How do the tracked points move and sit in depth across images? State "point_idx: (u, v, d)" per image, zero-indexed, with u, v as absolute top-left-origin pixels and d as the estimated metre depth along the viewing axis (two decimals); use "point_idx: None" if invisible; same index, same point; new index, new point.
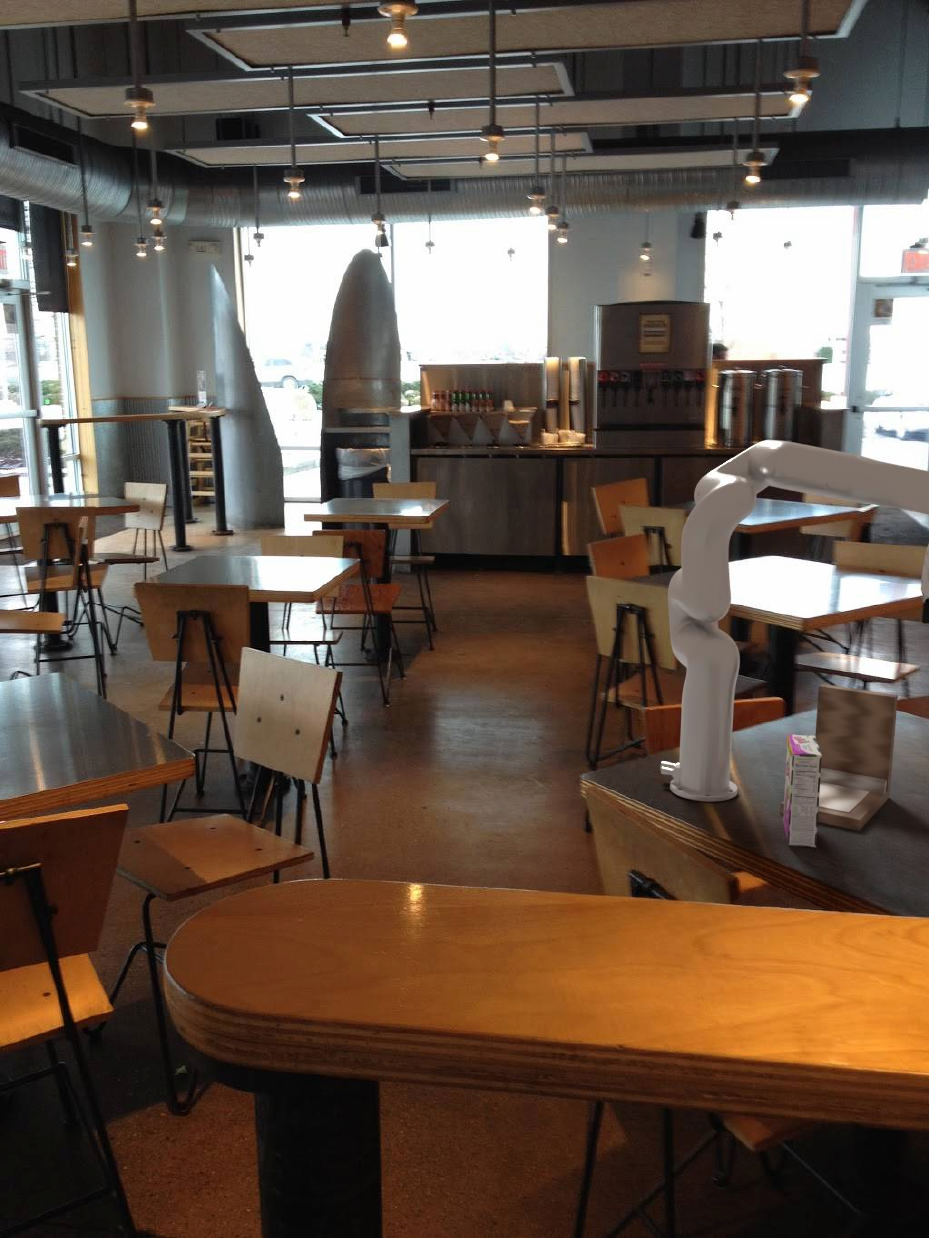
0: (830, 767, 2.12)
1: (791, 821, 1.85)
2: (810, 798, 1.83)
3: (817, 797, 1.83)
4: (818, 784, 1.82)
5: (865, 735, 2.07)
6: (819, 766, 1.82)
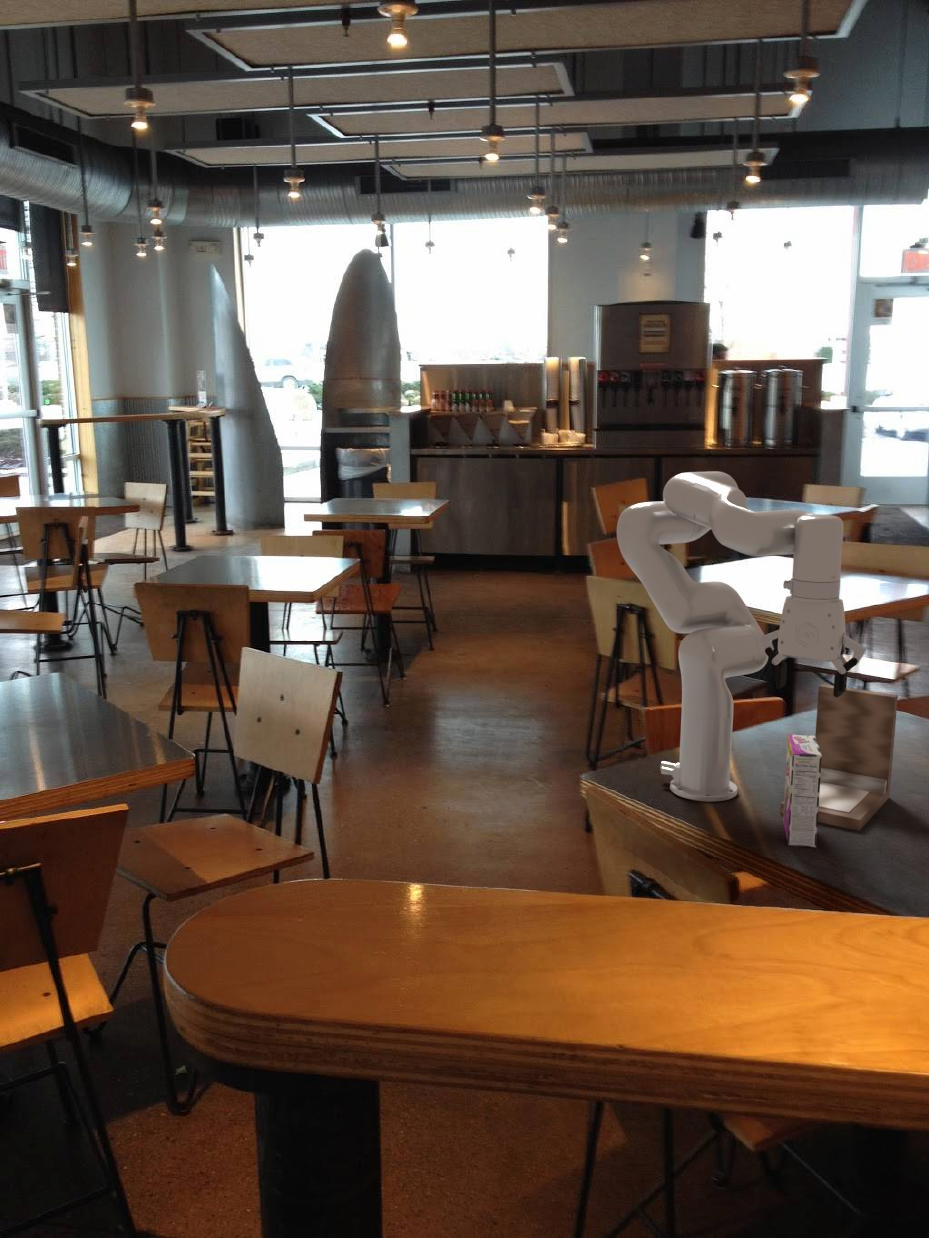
0: (830, 767, 2.12)
1: (791, 821, 1.85)
2: (810, 798, 1.83)
3: (817, 797, 1.83)
4: (818, 784, 1.82)
5: (865, 735, 2.07)
6: (819, 766, 1.82)
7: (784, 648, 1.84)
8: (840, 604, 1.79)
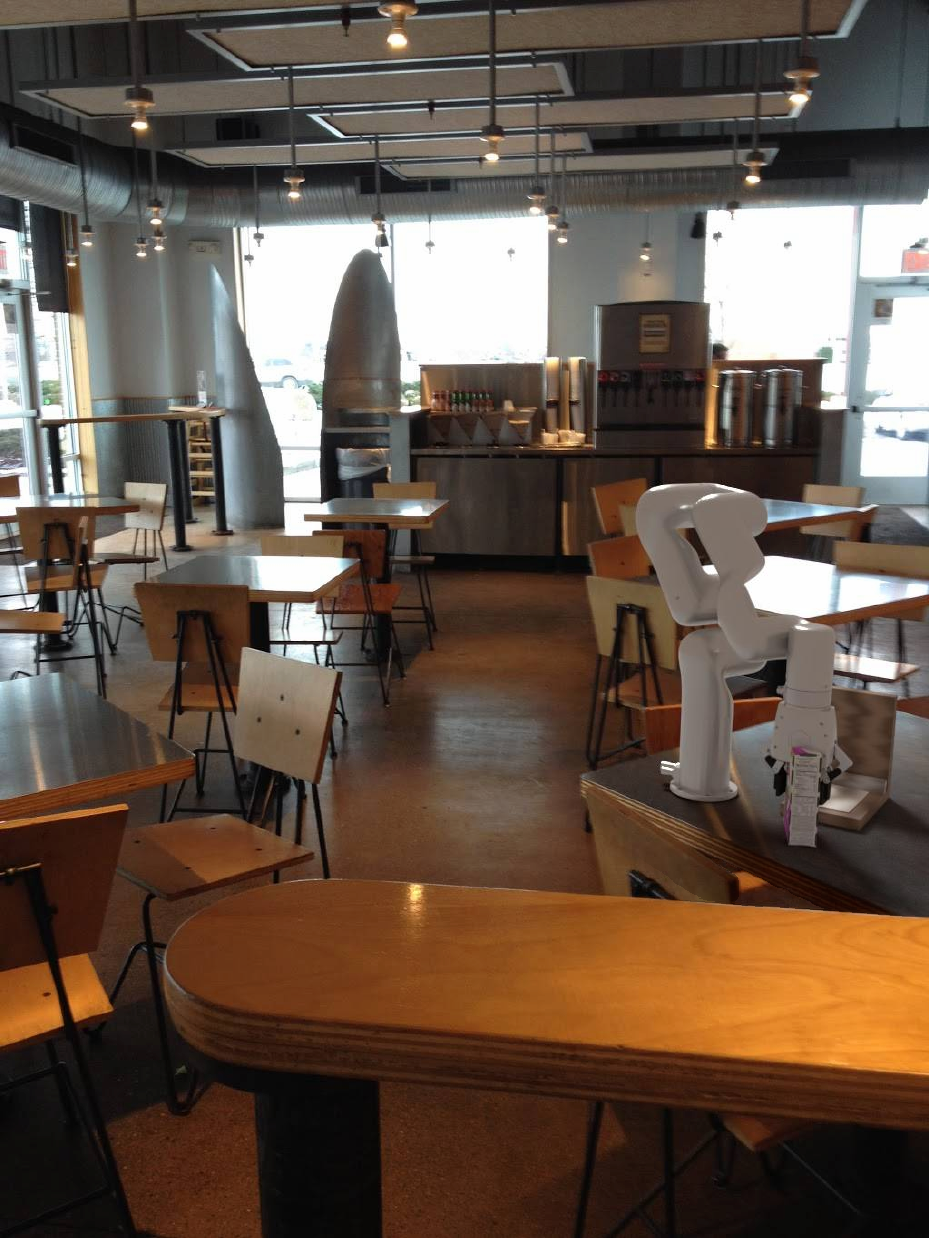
0: None
1: (791, 821, 1.85)
2: (810, 798, 1.83)
3: (817, 797, 1.83)
4: (818, 784, 1.82)
5: (865, 735, 2.07)
6: (819, 766, 1.82)
7: (777, 753, 1.87)
8: (832, 713, 1.83)
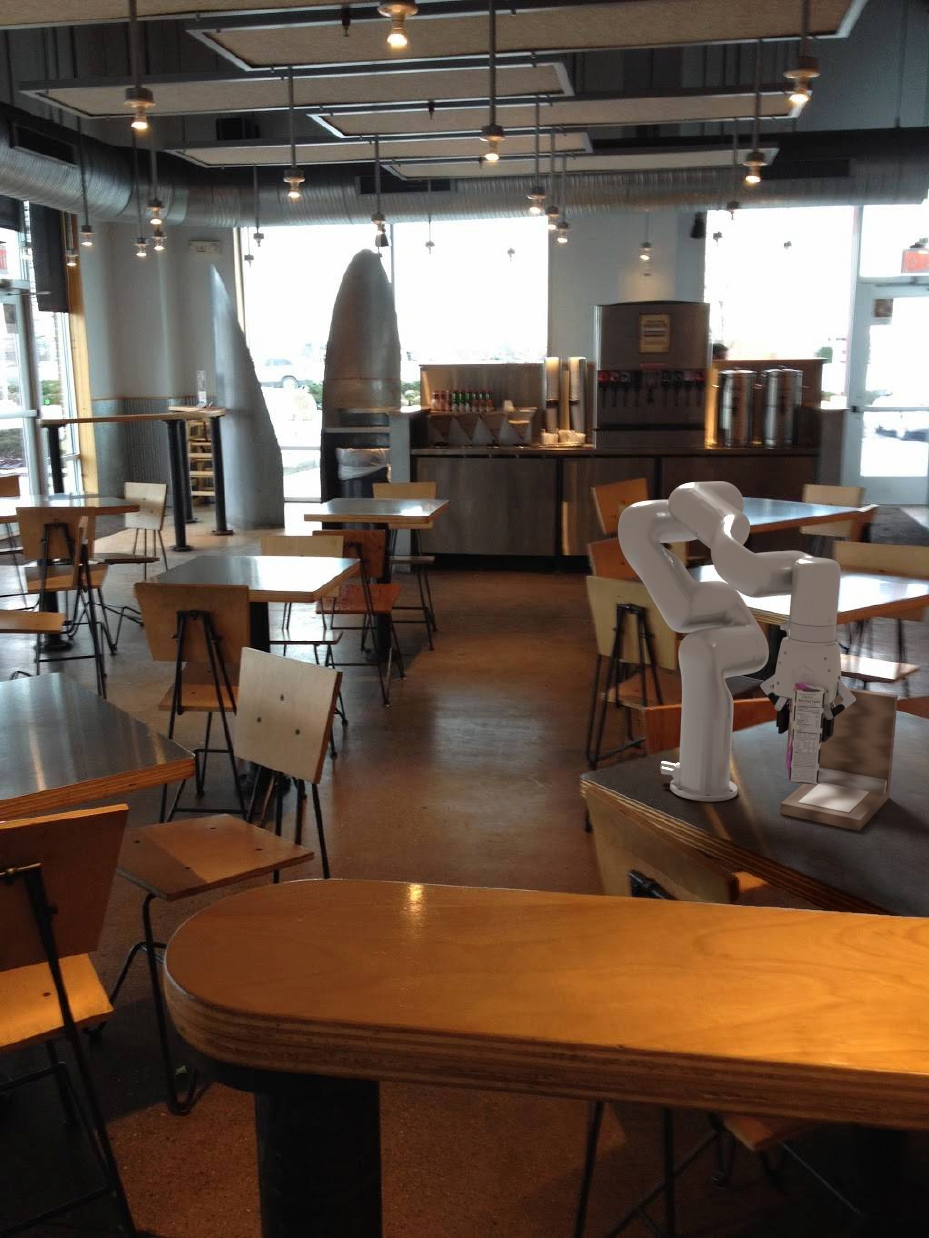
0: (830, 767, 2.12)
1: (793, 758, 1.83)
2: (813, 734, 1.81)
3: (820, 733, 1.81)
4: (821, 720, 1.80)
5: (865, 735, 2.07)
6: (822, 701, 1.80)
7: (780, 689, 1.85)
8: (836, 647, 1.81)
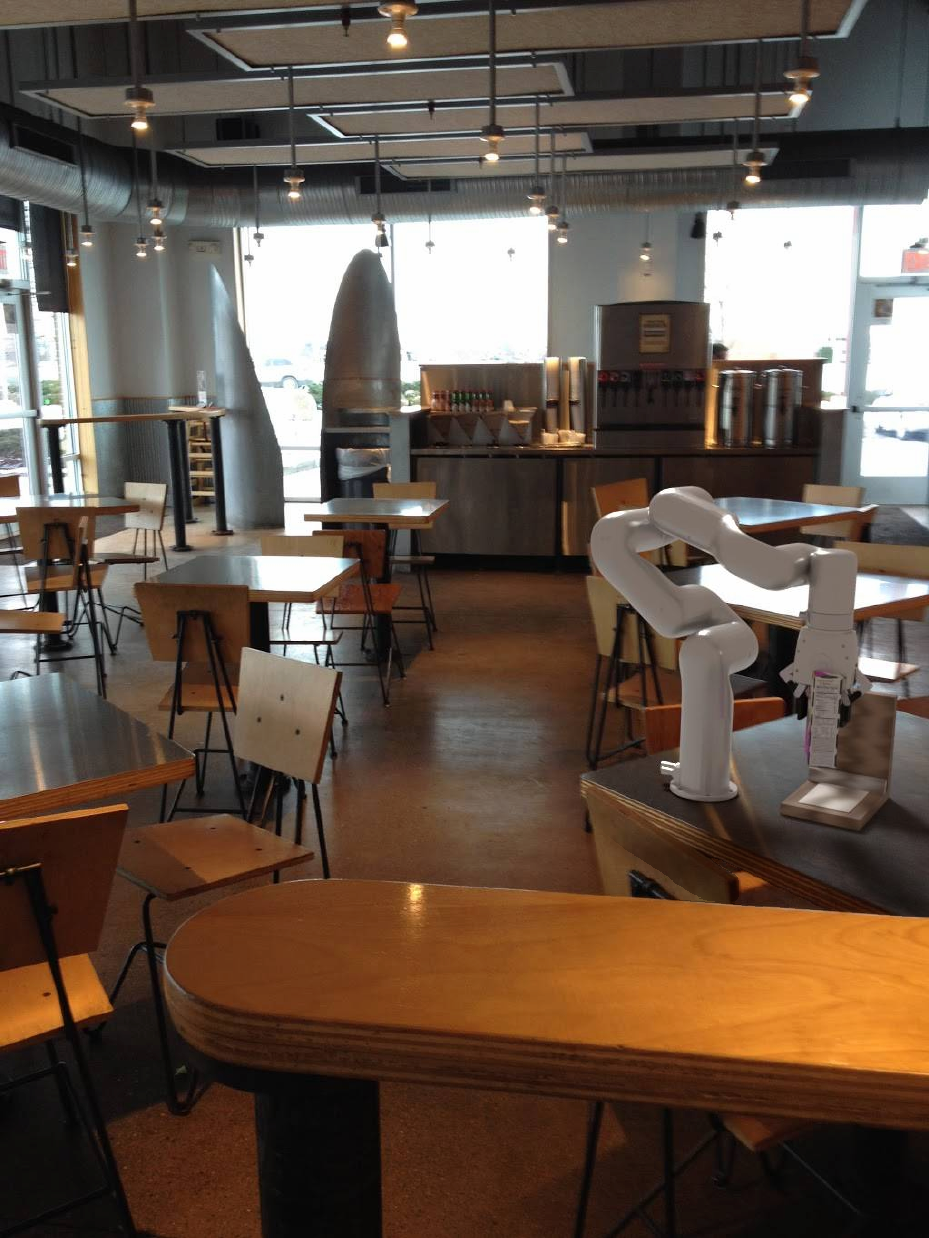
0: None
1: (812, 743, 1.89)
2: (830, 719, 1.87)
3: (837, 718, 1.87)
4: (838, 706, 1.86)
5: (865, 735, 2.07)
6: (840, 688, 1.86)
7: (799, 676, 1.91)
8: (853, 635, 1.86)
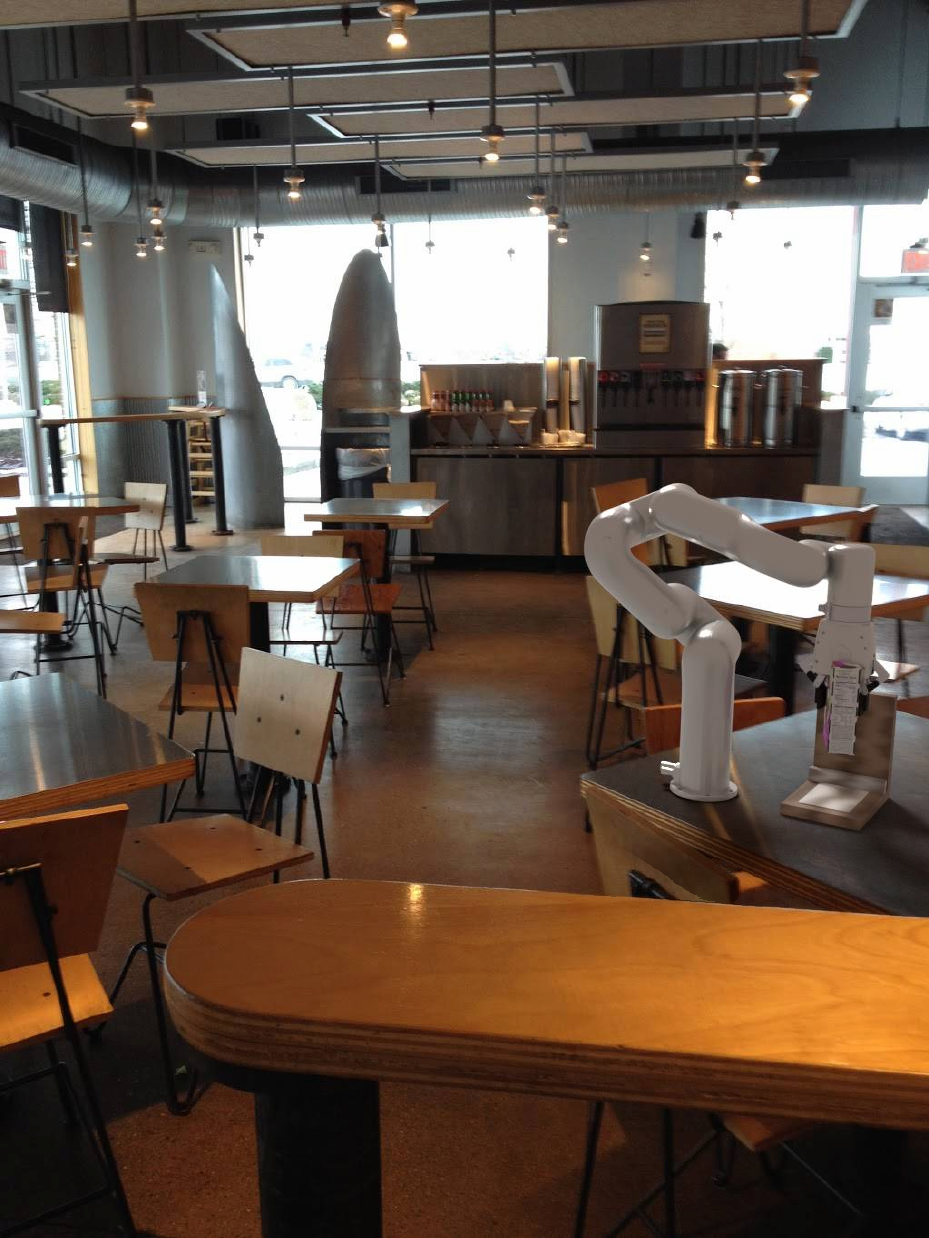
0: (830, 767, 2.12)
1: (831, 731, 1.96)
2: (849, 708, 1.94)
3: (856, 707, 1.94)
4: (857, 695, 1.93)
5: (865, 735, 2.07)
6: (858, 677, 1.93)
7: (818, 667, 1.98)
8: (871, 627, 1.93)
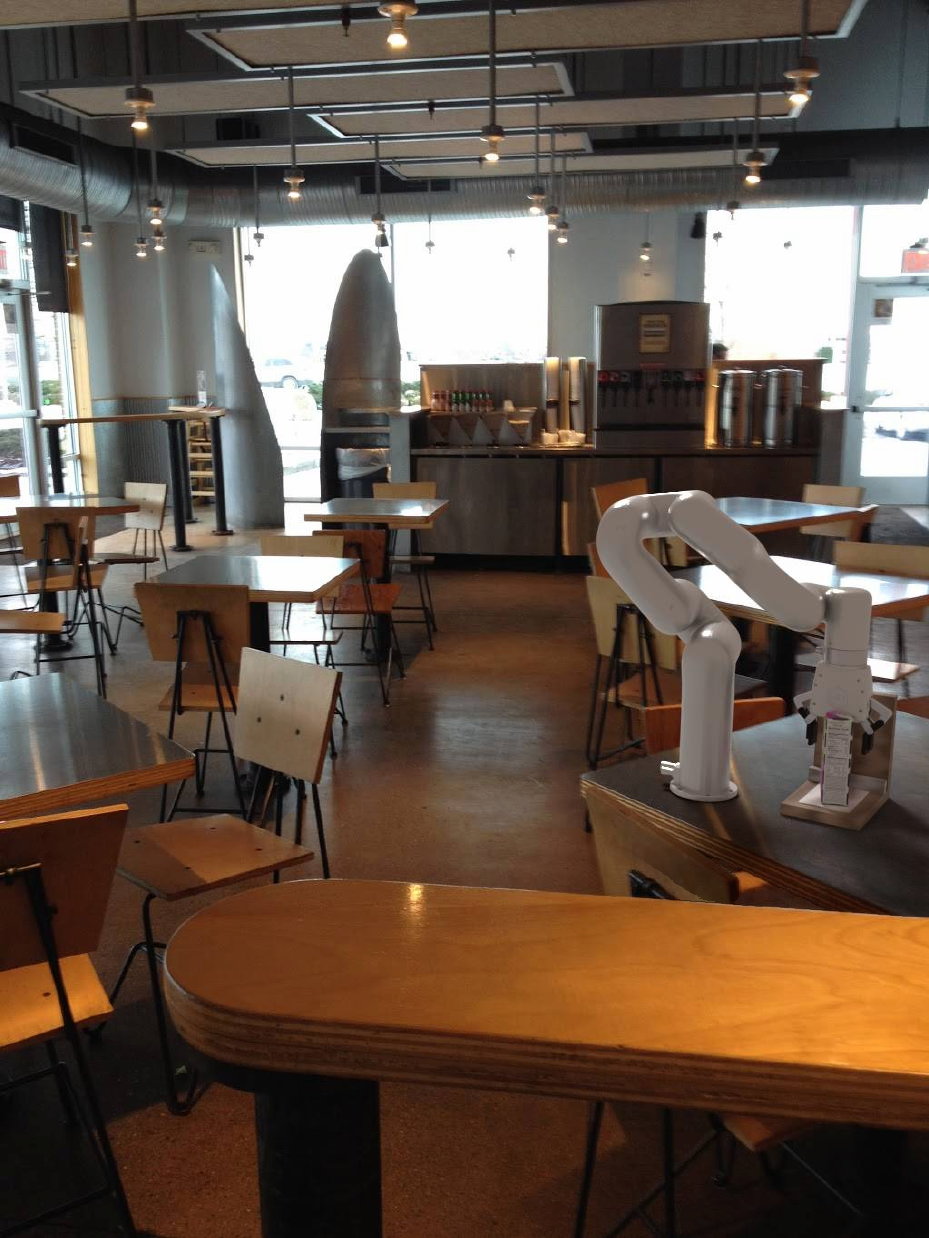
0: None
1: (824, 781, 1.98)
2: (842, 759, 1.96)
3: (849, 759, 1.96)
4: (850, 746, 1.95)
5: None
6: (851, 729, 1.95)
7: (816, 709, 2.00)
8: (868, 670, 1.95)
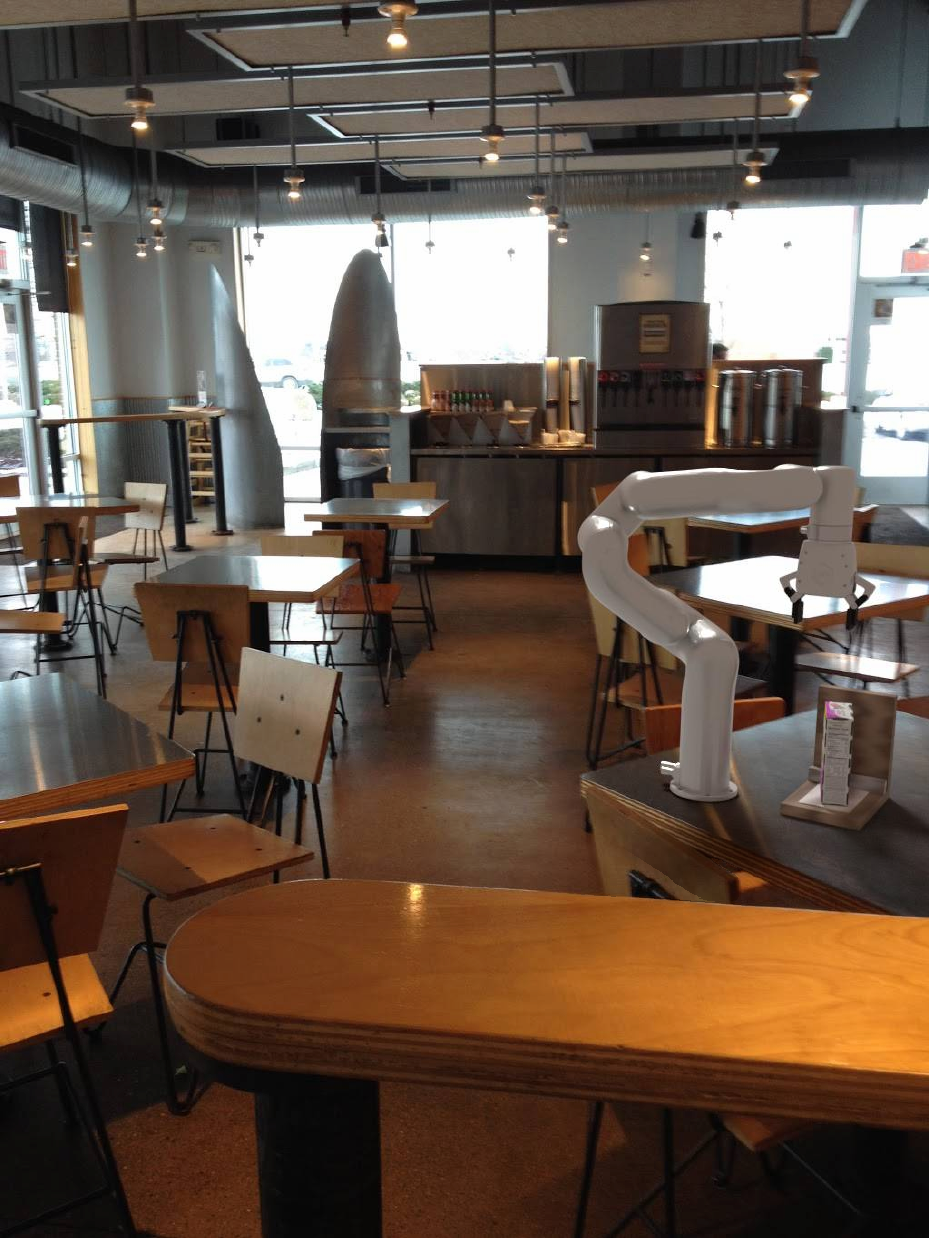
0: None
1: (824, 781, 1.98)
2: (842, 759, 1.96)
3: (849, 759, 1.96)
4: (850, 746, 1.95)
5: (865, 735, 2.07)
6: (851, 729, 1.95)
7: (801, 586, 2.04)
8: (852, 546, 1.99)
